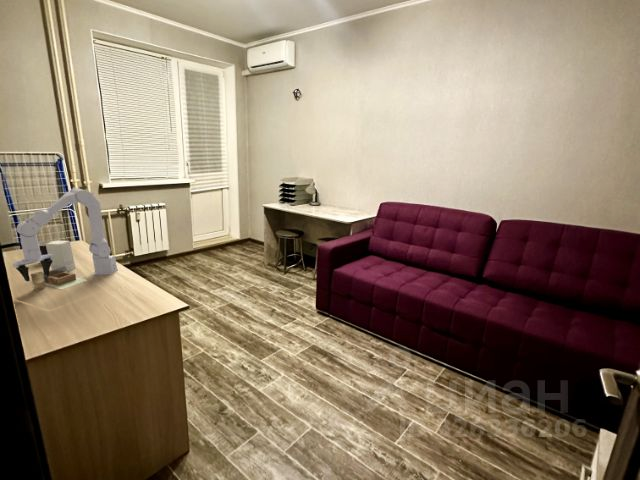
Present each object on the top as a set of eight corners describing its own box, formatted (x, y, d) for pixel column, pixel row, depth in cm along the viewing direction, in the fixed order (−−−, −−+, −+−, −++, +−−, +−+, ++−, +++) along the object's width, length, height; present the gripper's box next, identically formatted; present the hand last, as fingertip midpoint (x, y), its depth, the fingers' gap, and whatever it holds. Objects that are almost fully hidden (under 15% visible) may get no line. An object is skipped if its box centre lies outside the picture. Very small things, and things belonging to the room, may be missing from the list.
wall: (67, 276, 167) (65, 266, 166) (45, 283, 158) (43, 273, 157) (65, 275, 168) (63, 266, 166) (43, 282, 159) (41, 272, 157)
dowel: (47, 287, 155) (44, 271, 153) (41, 291, 151) (38, 274, 149) (38, 287, 155) (34, 271, 152) (32, 291, 151) (28, 275, 149)
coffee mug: (43, 258, 191) (39, 242, 188) (61, 257, 194) (58, 240, 192) (36, 265, 181) (33, 248, 178) (56, 263, 184) (53, 246, 182)
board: (87, 281, 163) (87, 280, 163) (61, 290, 153) (61, 289, 153) (67, 276, 169) (67, 274, 169) (40, 284, 158) (40, 283, 158)
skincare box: (76, 268, 178) (71, 240, 174) (65, 273, 172) (60, 244, 168) (61, 267, 179) (56, 239, 175) (50, 272, 173) (44, 243, 168)
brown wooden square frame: (76, 279, 163) (75, 273, 162) (58, 285, 156) (57, 279, 155) (65, 276, 166) (64, 271, 165) (47, 282, 159) (46, 276, 158)
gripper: (17, 255, 140) (24, 285, 143) (55, 246, 153) (60, 274, 156) (7, 252, 142) (13, 282, 146) (45, 243, 155) (50, 271, 159)
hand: (37, 277), depth 151 cm, fingers open, 7 cm apart
